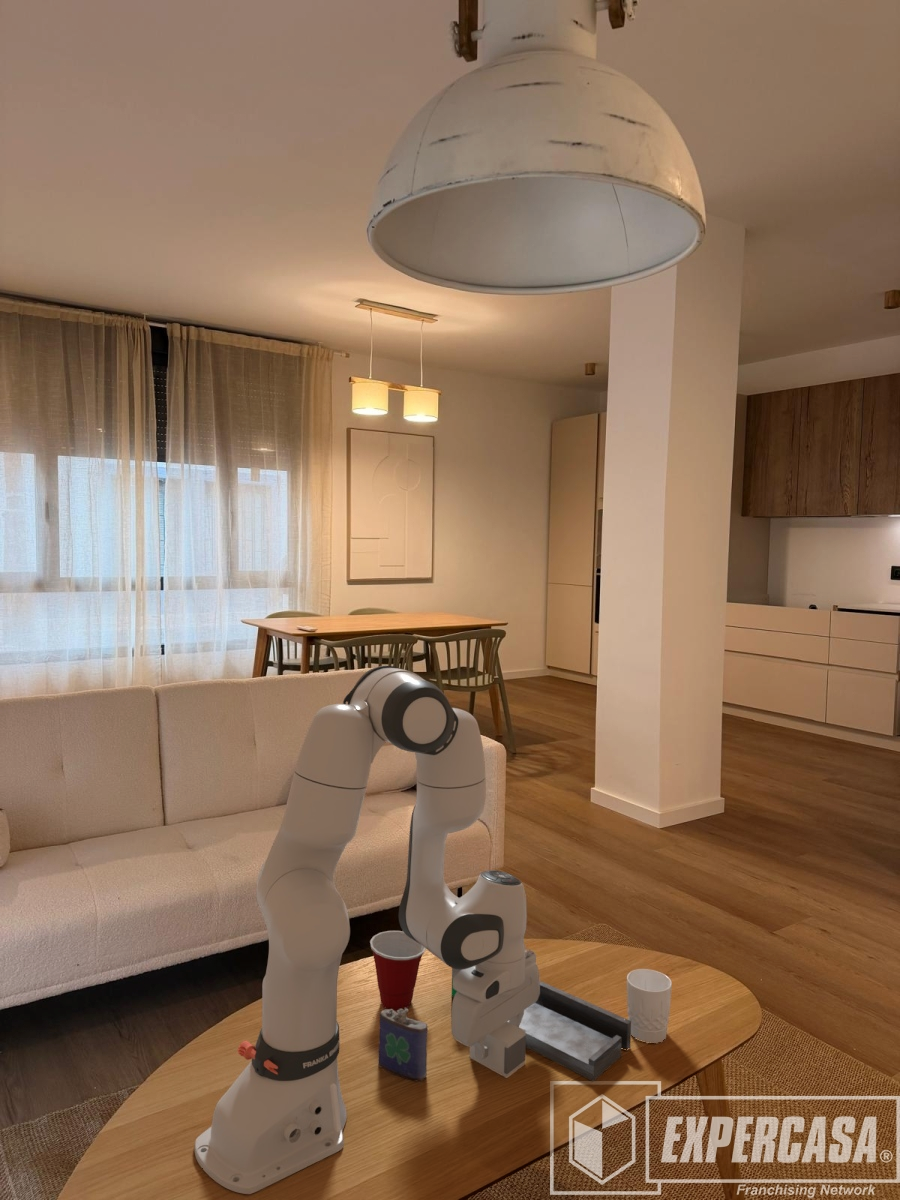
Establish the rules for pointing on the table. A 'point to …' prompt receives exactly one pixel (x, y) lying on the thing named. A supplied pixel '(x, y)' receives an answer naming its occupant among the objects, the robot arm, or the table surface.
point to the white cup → (648, 1004)
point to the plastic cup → (396, 967)
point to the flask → (403, 1045)
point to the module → (504, 1049)
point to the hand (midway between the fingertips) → (497, 1046)
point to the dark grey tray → (574, 1032)
